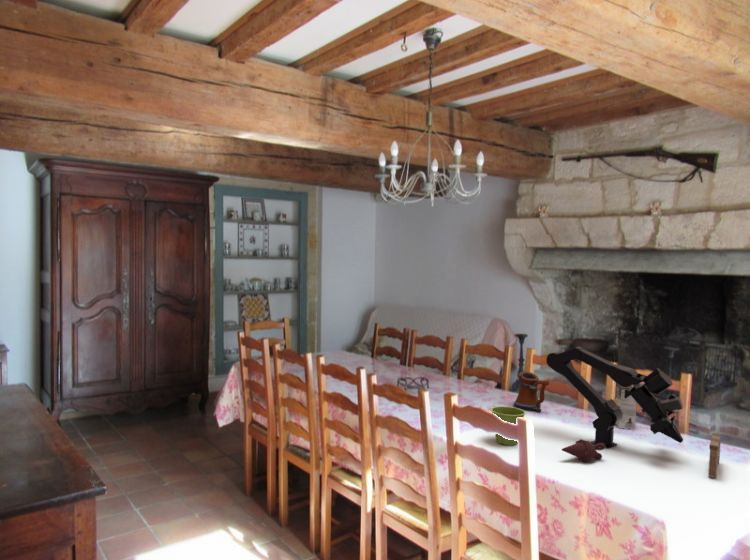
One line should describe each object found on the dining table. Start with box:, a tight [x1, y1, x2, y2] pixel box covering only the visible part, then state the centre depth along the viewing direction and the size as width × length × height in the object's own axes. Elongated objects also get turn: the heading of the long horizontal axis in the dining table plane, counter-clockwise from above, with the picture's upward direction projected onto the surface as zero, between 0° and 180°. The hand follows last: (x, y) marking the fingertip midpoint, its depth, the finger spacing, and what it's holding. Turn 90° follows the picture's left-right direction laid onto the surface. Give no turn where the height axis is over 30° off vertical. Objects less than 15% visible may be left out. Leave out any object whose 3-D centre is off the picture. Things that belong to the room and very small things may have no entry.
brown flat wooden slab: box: [708, 432, 720, 478], centre depth 175 cm, size 14×2×10 cm, turn 146°
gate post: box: [714, 432, 722, 465], centre depth 182 cm, size 2×2×10 cm
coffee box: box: [614, 382, 638, 430], centre depth 220 cm, size 9×6×16 cm
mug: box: [513, 371, 551, 413], centre depth 239 cm, size 18×12×15 cm, turn 24°
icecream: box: [561, 438, 606, 463], centre depth 181 cm, size 7×7×15 cm
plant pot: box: [490, 405, 527, 446], centre depth 196 cm, size 12×12×11 cm
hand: (681, 441), depth 183 cm, fingers closed
